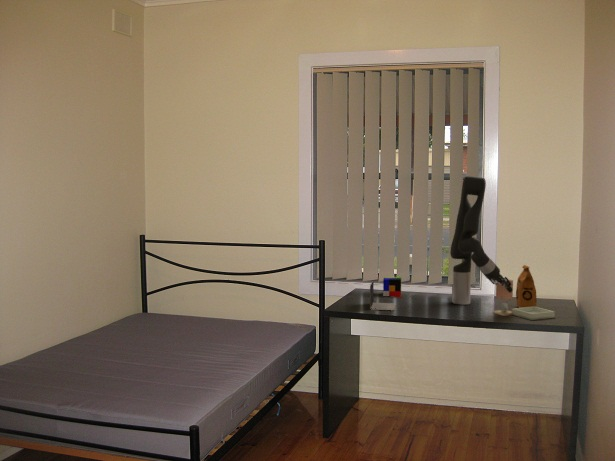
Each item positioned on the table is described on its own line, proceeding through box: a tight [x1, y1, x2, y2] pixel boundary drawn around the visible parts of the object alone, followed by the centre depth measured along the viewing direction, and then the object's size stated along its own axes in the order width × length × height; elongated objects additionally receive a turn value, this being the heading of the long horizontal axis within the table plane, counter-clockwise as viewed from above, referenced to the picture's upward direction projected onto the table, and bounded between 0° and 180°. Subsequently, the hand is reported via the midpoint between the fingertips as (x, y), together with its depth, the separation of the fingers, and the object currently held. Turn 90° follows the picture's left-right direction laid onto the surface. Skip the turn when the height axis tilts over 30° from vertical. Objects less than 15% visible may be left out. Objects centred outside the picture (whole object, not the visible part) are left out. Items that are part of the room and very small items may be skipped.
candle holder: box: [492, 302, 514, 317], centre depth 316 cm, size 8×8×5 cm
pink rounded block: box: [495, 278, 514, 300], centre depth 316 cm, size 6×7×9 cm
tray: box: [511, 306, 556, 321], centre depth 310 cm, size 14×14×3 cm
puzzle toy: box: [382, 276, 402, 298], centre depth 368 cm, size 10×10×10 cm
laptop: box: [369, 280, 397, 312], centre depth 334 cm, size 18×12×13 cm
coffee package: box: [515, 264, 537, 308], centre depth 328 cm, size 10×12×22 cm
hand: (507, 290), depth 316 cm, fingers closed on pink rounded block, 5 cm apart
